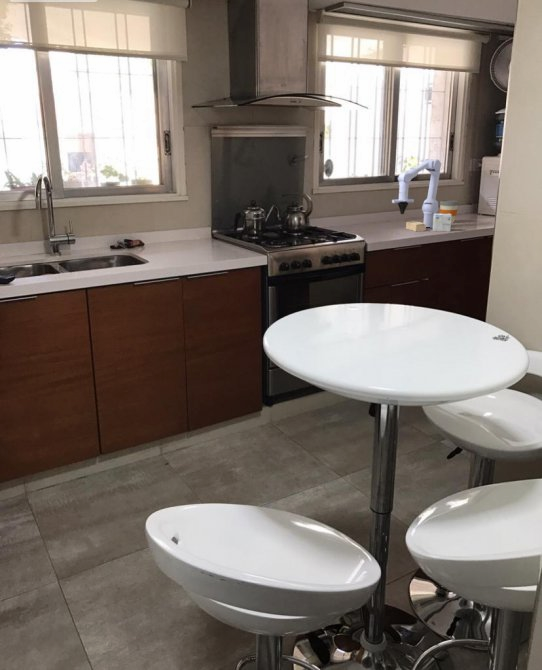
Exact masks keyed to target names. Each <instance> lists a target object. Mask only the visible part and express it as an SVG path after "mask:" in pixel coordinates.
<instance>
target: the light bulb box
mask: <svg viewBox="0 0 542 670" xmlns="http://www.w3.org/2000/svg"><path fill="white" fill-rule="evenodd" d="M451 227H452V223H451V214H440V213H436V214H434V217H433V228H432V231H433V232H451Z"/></svg>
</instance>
